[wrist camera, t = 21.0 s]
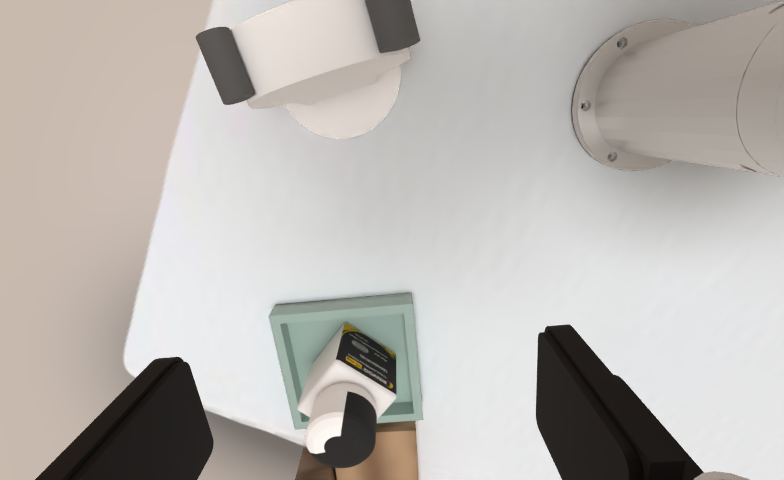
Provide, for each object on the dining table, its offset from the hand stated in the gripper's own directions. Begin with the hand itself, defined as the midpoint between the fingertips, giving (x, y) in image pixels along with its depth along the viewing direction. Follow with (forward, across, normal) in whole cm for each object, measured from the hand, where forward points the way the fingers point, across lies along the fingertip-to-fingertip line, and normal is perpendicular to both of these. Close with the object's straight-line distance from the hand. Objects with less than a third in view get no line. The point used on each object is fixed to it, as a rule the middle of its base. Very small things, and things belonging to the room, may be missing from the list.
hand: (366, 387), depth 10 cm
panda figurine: (+28, +3, -11) cm, 31 cm away
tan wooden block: (+29, +5, +34) cm, 45 cm away
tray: (+28, +6, +19) cm, 35 cm away
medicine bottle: (+28, +6, +19) cm, 34 cm away
